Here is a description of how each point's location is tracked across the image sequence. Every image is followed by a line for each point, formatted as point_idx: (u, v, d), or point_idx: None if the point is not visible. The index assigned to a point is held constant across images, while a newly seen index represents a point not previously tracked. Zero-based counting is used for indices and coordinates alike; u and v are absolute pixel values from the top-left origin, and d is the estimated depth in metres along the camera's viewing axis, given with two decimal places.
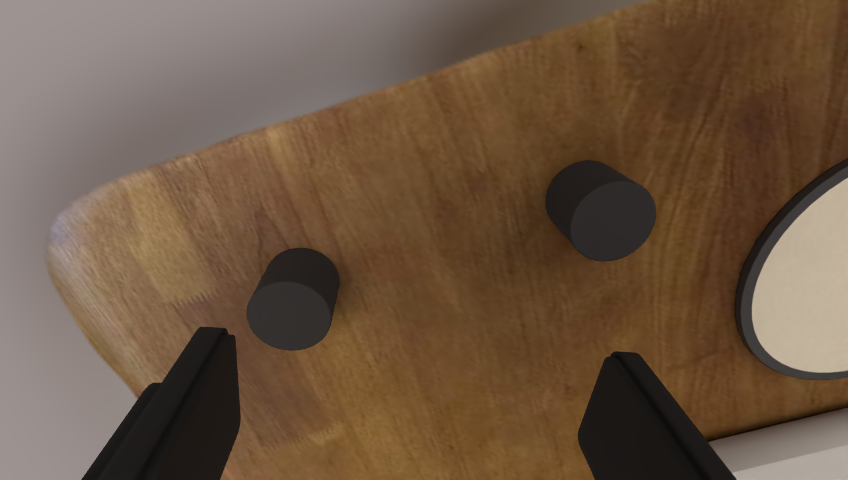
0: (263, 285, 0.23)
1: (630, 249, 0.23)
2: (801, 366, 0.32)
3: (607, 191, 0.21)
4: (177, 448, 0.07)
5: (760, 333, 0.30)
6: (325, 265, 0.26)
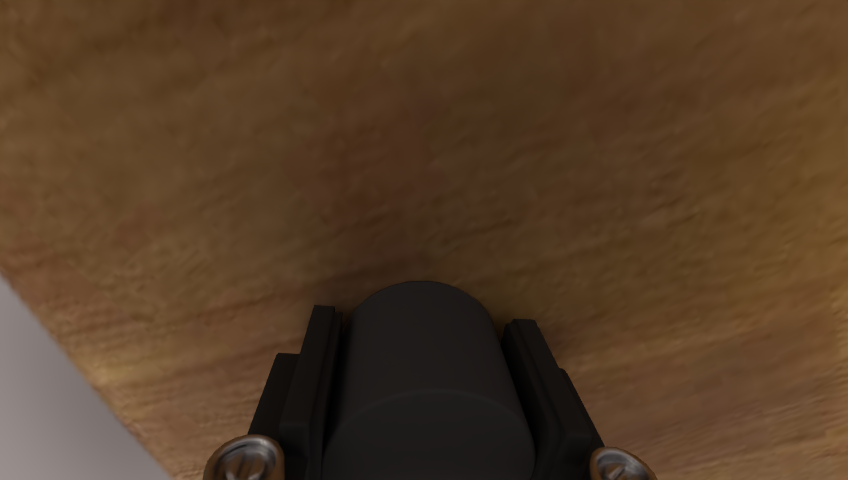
0: None
1: None
2: None
3: None
4: (326, 402, 0.09)
5: None
6: (361, 320, 0.11)
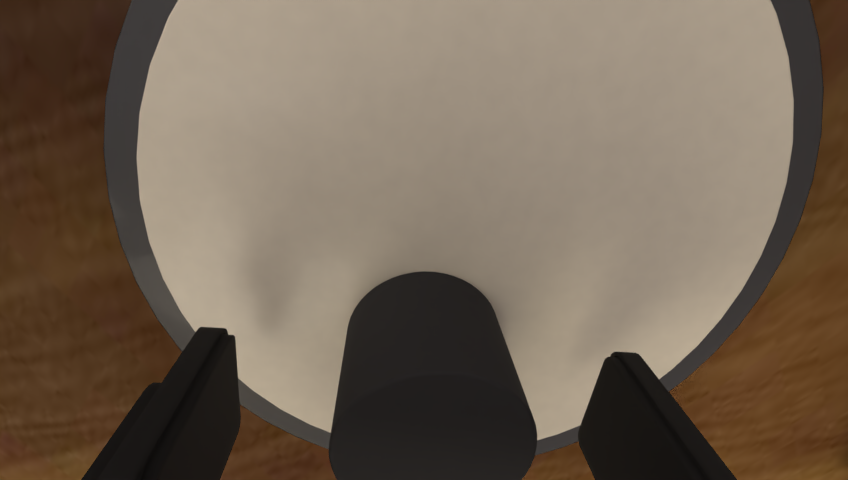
0: None
1: None
2: (722, 302, 0.13)
3: None
4: (177, 448, 0.07)
5: None
6: (368, 308, 0.11)
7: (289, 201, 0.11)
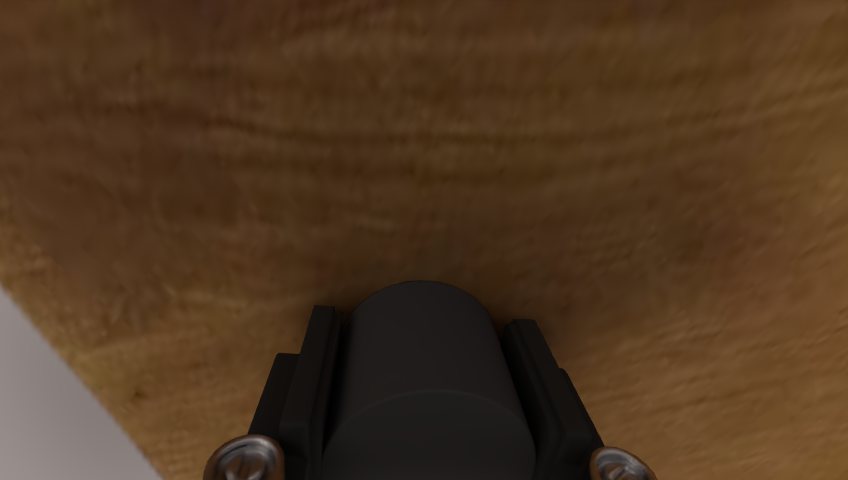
0: None
1: (508, 425, 0.08)
2: None
3: None
4: (326, 402, 0.09)
5: None
6: None
7: None
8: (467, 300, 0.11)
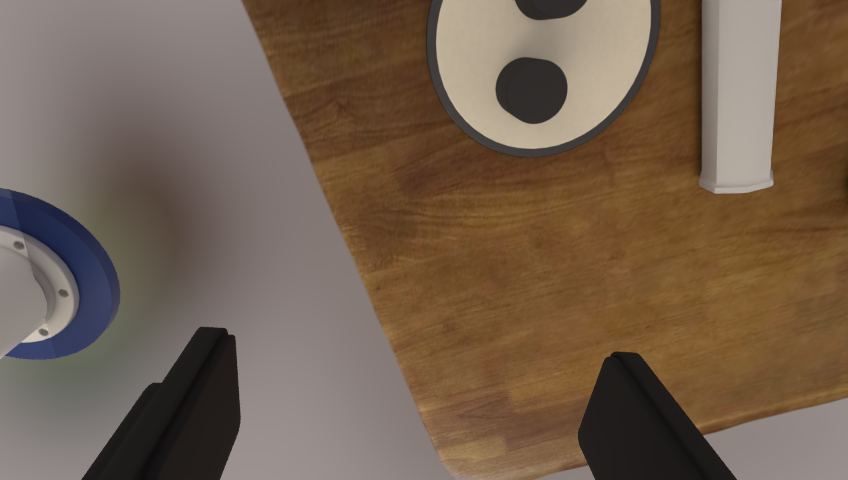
0: (509, 108, 0.32)
1: None
2: (632, 75, 0.35)
3: None
4: (177, 448, 0.07)
5: (587, 128, 0.37)
6: (508, 65, 0.33)
7: (484, 27, 0.33)
8: None
